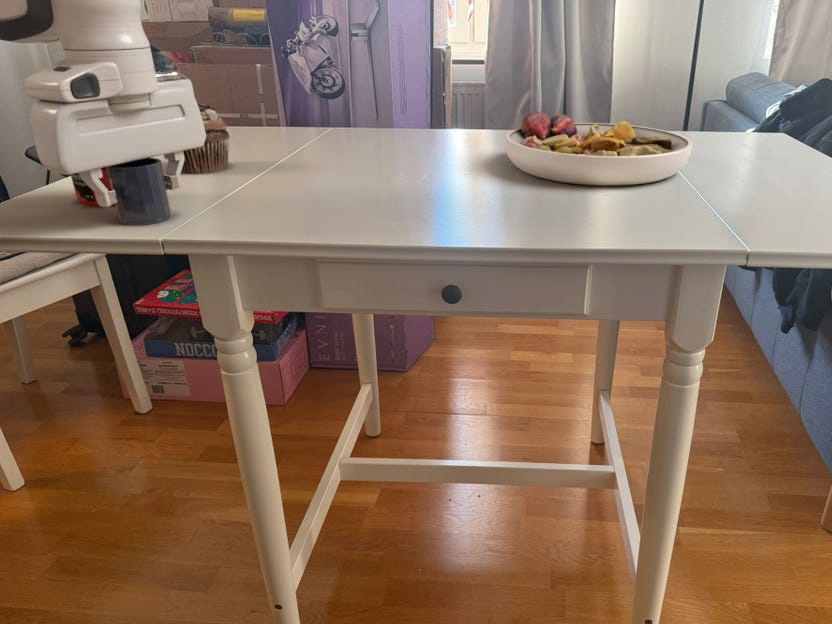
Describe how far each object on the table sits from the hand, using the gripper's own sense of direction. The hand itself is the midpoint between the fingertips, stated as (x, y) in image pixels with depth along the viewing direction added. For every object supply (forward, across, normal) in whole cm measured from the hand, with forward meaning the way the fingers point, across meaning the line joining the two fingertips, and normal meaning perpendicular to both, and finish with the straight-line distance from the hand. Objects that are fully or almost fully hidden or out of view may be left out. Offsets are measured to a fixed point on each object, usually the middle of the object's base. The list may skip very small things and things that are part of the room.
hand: (142, 196), depth 83 cm
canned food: (+3, -3, -12) cm, 12 cm away
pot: (+3, 0, 0) cm, 3 cm away
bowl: (+3, -56, +39) cm, 68 cm away
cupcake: (+3, -23, -16) cm, 28 cm away
